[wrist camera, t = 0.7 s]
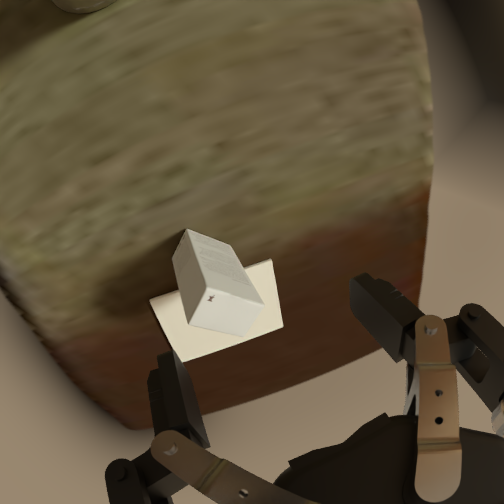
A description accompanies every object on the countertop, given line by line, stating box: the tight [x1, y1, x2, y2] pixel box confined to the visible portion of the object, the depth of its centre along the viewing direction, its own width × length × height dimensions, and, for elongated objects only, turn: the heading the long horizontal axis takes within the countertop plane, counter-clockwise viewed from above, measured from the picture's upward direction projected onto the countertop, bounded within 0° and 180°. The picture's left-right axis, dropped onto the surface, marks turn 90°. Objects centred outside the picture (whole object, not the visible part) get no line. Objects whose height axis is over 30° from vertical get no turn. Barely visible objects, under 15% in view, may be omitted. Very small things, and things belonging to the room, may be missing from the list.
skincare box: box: [172, 229, 265, 337], centre depth 32 cm, size 6×4×12 cm
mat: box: [149, 259, 283, 362], centre depth 42 cm, size 12×16×1 cm
